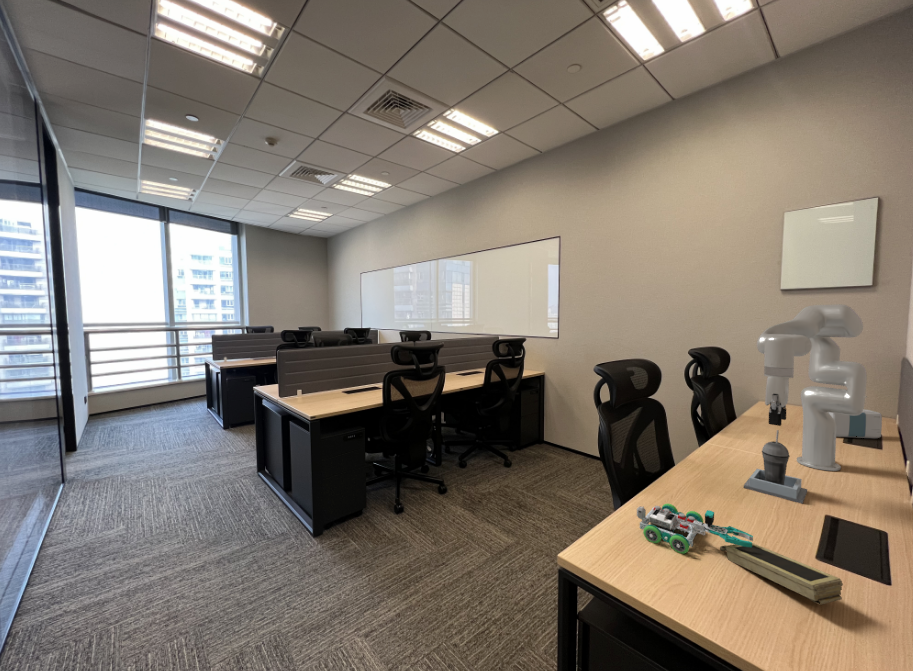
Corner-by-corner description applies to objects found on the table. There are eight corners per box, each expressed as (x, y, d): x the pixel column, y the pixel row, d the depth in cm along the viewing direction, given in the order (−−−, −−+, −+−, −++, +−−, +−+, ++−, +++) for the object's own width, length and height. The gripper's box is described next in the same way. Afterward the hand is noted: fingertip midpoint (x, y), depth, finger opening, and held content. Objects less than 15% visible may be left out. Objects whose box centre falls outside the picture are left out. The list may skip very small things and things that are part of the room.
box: (820, 613, 71) (815, 585, 72) (712, 561, 93) (710, 540, 93) (849, 605, 73) (844, 578, 74) (737, 556, 95) (734, 535, 96)
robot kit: (748, 581, 82) (749, 541, 82) (631, 536, 100) (631, 503, 99) (757, 545, 96) (758, 510, 95) (652, 511, 113) (653, 481, 113)
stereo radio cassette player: (832, 438, 181) (834, 397, 180) (819, 433, 189) (820, 394, 189) (882, 440, 178) (884, 399, 177) (866, 434, 186) (868, 395, 185)
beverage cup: (782, 483, 129) (783, 427, 128) (793, 493, 122) (795, 433, 121) (756, 480, 131) (758, 425, 130) (766, 489, 124) (768, 431, 123)
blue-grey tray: (751, 478, 136) (751, 467, 136) (807, 492, 124) (807, 480, 124) (743, 487, 128) (744, 476, 128) (802, 503, 117) (803, 491, 116)
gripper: (769, 368, 133) (768, 415, 134) (759, 374, 122) (758, 424, 123) (797, 370, 127) (796, 419, 128) (789, 376, 116) (788, 429, 117)
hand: (777, 421), depth 125 cm, fingers open, 9 cm apart
